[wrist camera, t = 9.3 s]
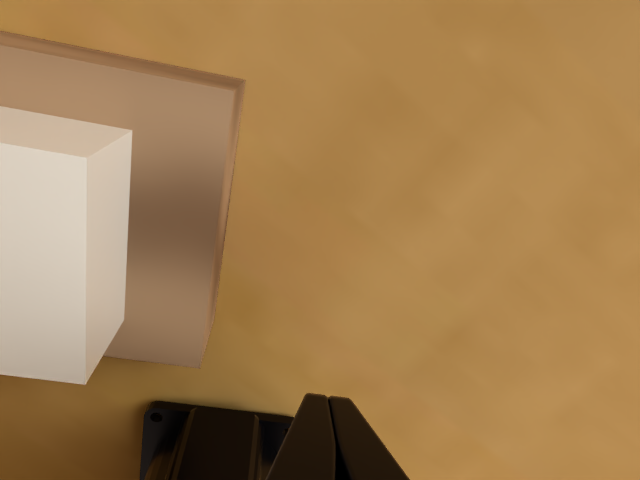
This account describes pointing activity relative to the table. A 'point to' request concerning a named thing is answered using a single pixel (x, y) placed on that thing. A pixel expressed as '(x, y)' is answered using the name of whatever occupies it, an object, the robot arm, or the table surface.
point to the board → (149, 178)
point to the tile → (61, 243)
